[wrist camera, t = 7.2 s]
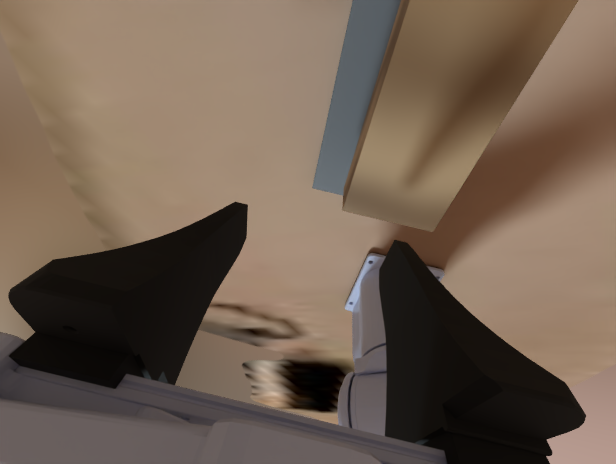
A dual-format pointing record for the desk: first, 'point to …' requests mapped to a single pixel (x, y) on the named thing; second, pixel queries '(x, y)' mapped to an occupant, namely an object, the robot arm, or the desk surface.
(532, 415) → the robot arm
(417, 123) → the shelf board
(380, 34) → the peg stand
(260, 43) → the desk surface
